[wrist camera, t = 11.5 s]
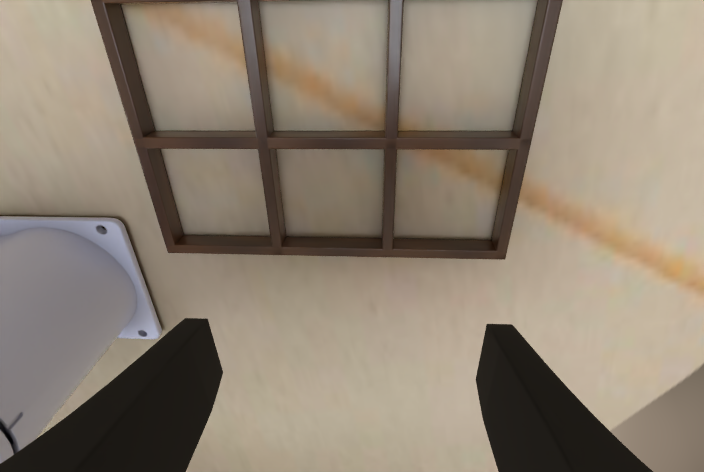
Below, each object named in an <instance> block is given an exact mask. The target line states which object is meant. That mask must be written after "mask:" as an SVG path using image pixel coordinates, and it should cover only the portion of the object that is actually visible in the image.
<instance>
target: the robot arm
mask: <svg viewBox="0 0 704 472" xmlns="http://www.w3.org/2000/svg"><path fill="white" fill-rule="evenodd" d="M101 225H102V226H104V227H105V228H106V230H105V229H103V228H102V226H101ZM161 333H162V329H161V326H160V323H159V320H158V317H157V315H156V312H155V309H154V306H153V304H152V301H151V298H150V295H149V292H148V290H147V287H146V284H145V281H144V278H143V276H142V273H141V270H140V267H139V265H138V262H137V259H136V256H135V253H134V251H133V248H132V245H131V242H130V239H129V237H128V234H127V231H126V228H125V226H124V224H123V223H122V222H121V221H120V220H118V219H116V218H95V217H25V216H0V472H186V469H187V467H188V465H189V463H190V460H191V458H192V456H193V453H194V451H195V449H196V446H197V444H198V442H199V439H200V437H201V435H202V432H203V430H204V428H205V425H206V423H207V421H208V418H209V416H210V413H211V411H212V408H213V405H214V402H215V398H216V395H217V392H218V388H219V385H220V381H221V378H222V374H223V371H222V367H221V364H220V360H219V357H218V353H217V350H216V346H215V343H214V339H213V336H212V333H211V329H210V326H209V322H208V319H193V318H185V319H184V320H183V321H181V322H180V323H179V324H178V325H177V326H175V327H174V328H173V329H172V330H171V331H169V332H168V333H167V334H166V335H165V336H164V337H163V338H161V339H160V340H159V341H158V342H157V343H156V344H155V345H153V346H152V347H151V348H150V349H149V350H148V351H146V352H145V353H144V354H143V355H142V356H141V357H140V358H138V359H137V360H136V361H135V362H134V363H132V364H131V365H130V366H129V367H128V368H127V369H125V370H124V371H123V372H122V373H121V374H120V375H118V376H117V377H116V378H115V379H114V380H112V381H111V382H110V383H109V384H108V385H106V386H105V387H104V388H102V389H101V390H100V391H99V392H97V393H96V394H95V395H94V396H92V397H91V398H90V399H89V400H87V401H86V402H85V403H84V404H82V405H81V406H80V407H78V408H77V409H76V410H75V411H73V412H72V413H71V414H70V415H68V416H67V417H66V418H64V419H63V420H62V421H60V422H59V423H58V424H56V425H55V426H54V427H52V428H51V429H50V430H48V431H47V432H45V433H44V434H43V435H41V436H40V437H38V436H39V434H40V433H41V432H42V431H43V429H44V428H45V427H46V426H47V424H48V423H49V422H50V421H51V419H52V418H53V417H54V416H55V414H56V413H57V412H58V411H59V409H60V408H61V407H62V406H63V404H64V403H65V402H66V401H67V399H68V398H69V397H70V396H71V394H72V393H73V392H74V391H75V389H76V388H77V387H78V386H79V384H80V383H81V382H82V381H83V379H84V378H85V377H86V376H87V374H88V373H89V372H90V371H91V369H92V368H93V367H94V366H95V364H96V363H97V362H98V361H99V359H100V358H101V357H102V356H103V354H104V353H105V352H106V351H107V349H108V348H109V347H110V346H111V344H112V343H113V342H114V341H115V339H116V338H130V339H157V338H159V336H160V335H161ZM476 383H477V389H478V395H479V400H480V406H481V411H482V416H483V421H484V424H485V428H486V431H487V434H488V438H489V441H490V445H491V448H492V451H493V455H494V458H495V461H496V465H497V468H498V471H499V472H653V471H652V470H651V469H649V468H648V467H647V466H646V465H645V464H644V463H643V462H641V461H640V460H639V459H638V458H637V457H636V456H635V455H634V454H633V453H632V452H631V451H629V449H628V448H626V447H625V446H624V445H623V444H622V443H621V442H620V441H619V440H618V439H617V438H616V437H615V436H614V435H613V434H612V433H611V432H610V431H609V430H608V429H607V428H606V427H605V426H604V425H603V424H602V423H601V422H600V421H599V420H598V419H597V418H596V417H595V416H594V415H593V414H592V413H591V412H590V411H589V410H588V409H587V408H586V407H585V406H584V405H583V404H582V403H581V402H580V400H579V399H578V398H577V397H576V396H575V395H574V394H573V393H572V392H571V391H570V390H569V389H568V388H567V387H566V385H565V384H564V383H563V382H562V381H561V380H560V379H559V378H558V377H557V376H556V374H555V373H554V372H553V371H552V370H551V369H550V368H549V367H548V365H547V364H546V363H545V362H544V361H543V360H542V359H541V357H540V356H539V355H538V354H537V353H536V352H535V351H534V349H533V348H532V347H531V346H530V345H529V344H528V342H527V341H526V340H525V339H524V338H523V337H522V335H521V334H520V333H519V332H518V331H517V330H516V328H515V327H514V326H513V325H510V324H487V326H486V331H485V336H484V341H483V346H482V351H481V356H480V361H479V366H478V371H477V376H476ZM37 437H38V438H37ZM36 438H37V439H36Z"/></svg>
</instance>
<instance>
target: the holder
mask: <svg viewBox="0 0 704 472" xmlns="http://www.w3.org/2000/svg"><path fill="white" fill-rule="evenodd" d="M258 1H287V0H91V3H92V6H93V9H94V13H95V16H96V19H97V22H98V26H99V29H100V32H101V35H102V39H103V42H104V45H105V48H106V52H107V55H108V58H109V62H110V65H111V68H112V71H113V75H114V78H115V81H116V84H117V88H118V91H119V94H120V97H121V101H122V104H123V107H124V110H125V114H126V117H127V120H128V124H129V127H130V130H131V133H132V137H133V140H134V143H135V146H136V150H137V153H138V156H139V159H140V163H141V166H142V169H143V173H144V176H145V179H146V182H147V186H148V189H149V192H150V195H151V199H152V202H153V205H154V208H155V212H156V215H157V218H158V222H159V225H160V228H161V231H162V235H163V238H164V241H165V244H166V248H167V251H168V253H206V254H256V255H307V256H357V257H407V258H458V259H505V257H506V253H507V248H508V244H509V239H510V235H511V230H512V226H513V221H514V217H515V212H516V208H517V203H518V199H519V194H520V190H521V185H522V181H523V176H524V172H525V167H526V163H527V158H528V154H529V149H530V145H531V140H532V136H533V131H534V127H535V122H536V118H537V113H538V109H539V105H540V100H541V96H542V91H543V87H544V82H545V78H546V73H547V69H548V64H549V60H550V55H551V51H552V46H553V42H554V37H555V33H556V28H557V24H558V19H559V15H560V10H561V6H562V1H563V0H538V4H537V9H536V14H535V19H534V25H533V30H532V35H531V40H530V45H529V50H528V55H527V60H526V66H525V71H524V76H523V81H522V86H521V91H520V96H519V101H518V107H517V112H516V117H515V122H514V127H513V131H398V118H399V95H400V72H401V50H402V27H403V5H404V0H388V37H387V74H386V110H385V131H273V123H272V115H271V106H270V98H269V89H268V81H267V73H266V64H265V56H264V47H263V39H262V31H261V22H260V14H259V5H258ZM188 2H237V4H238V11H239V18H240V25H241V32H242V39H243V46H244V53H245V60H246V67H247V74H248V81H249V88H250V95H251V102H252V109H253V116H254V123H255V130H256V131H155V130H154V126H153V123H152V119H151V115H150V112H149V108H148V104H147V101H146V97H145V93H144V90H143V86H142V83H141V79H140V75H139V72H138V68H137V64H136V61H135V57H134V53H133V50H132V46H131V42H130V39H129V35H128V32H127V28H126V24H125V21H124V17H123V13H122V10H121V6H120V4H138V3H188ZM160 149H258V151H259V158H260V165H261V172H262V179H263V187H264V194H265V201H266V208H267V215H268V222H269V229H270V236H271V237H268V236H209V235H183V232H182V228H181V225H180V221H179V217H178V214H177V210H176V206H175V203H174V199H173V195H172V192H171V188H170V184H169V181H168V177H167V174H166V170H165V166H164V163H163V159H162V155H161V152H160ZM276 149H384V183H383V220H382V238H327V237H286V232H285V224H284V216H283V207H282V199H281V190H280V182H279V174H278V165H277V157H276ZM397 149H475V150H509V153H508V158H507V163H506V168H505V173H504V178H503V183H502V189H501V194H500V199H499V204H498V209H497V214H496V219H495V224H494V230H493V235H492V240H445V239H393V230H394V208H395V185H396V163H397Z"/></svg>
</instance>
